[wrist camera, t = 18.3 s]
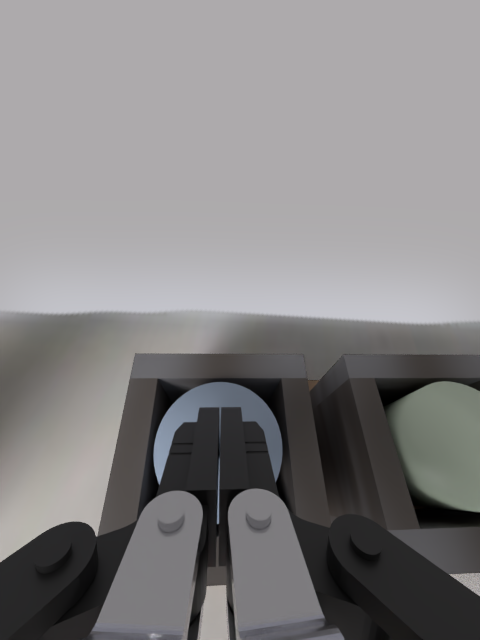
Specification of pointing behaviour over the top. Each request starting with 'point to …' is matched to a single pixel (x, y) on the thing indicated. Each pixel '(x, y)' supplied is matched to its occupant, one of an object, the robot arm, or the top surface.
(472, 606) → the robot arm
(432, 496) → the sage button
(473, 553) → the button board
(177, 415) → the pale blue rounded piece
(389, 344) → the top surface
